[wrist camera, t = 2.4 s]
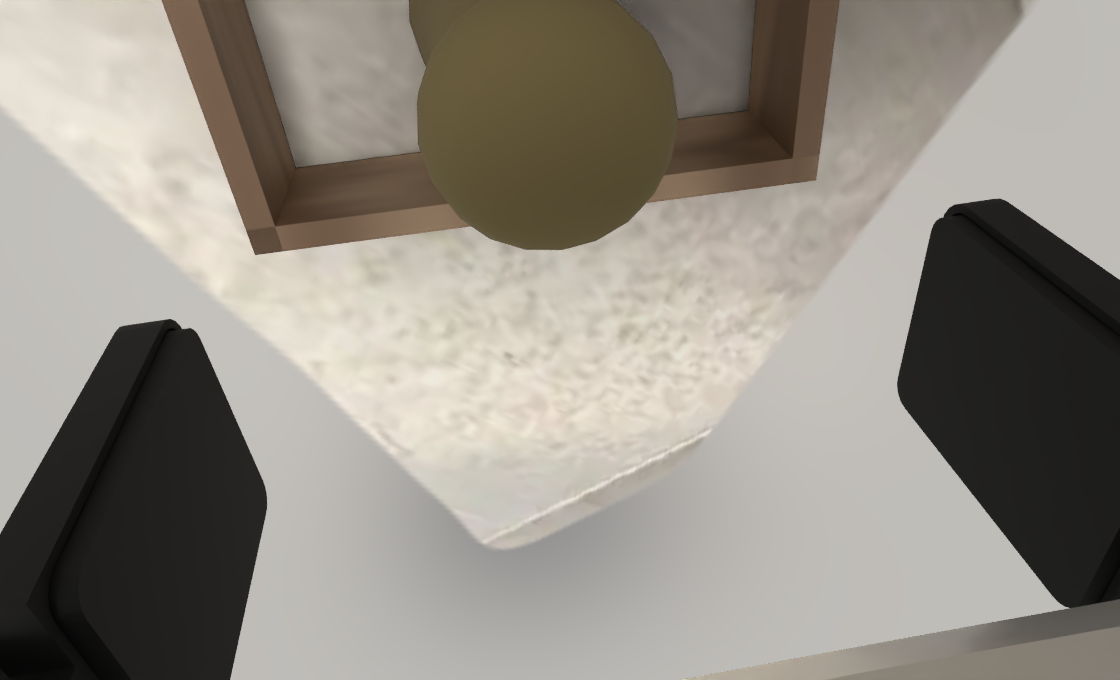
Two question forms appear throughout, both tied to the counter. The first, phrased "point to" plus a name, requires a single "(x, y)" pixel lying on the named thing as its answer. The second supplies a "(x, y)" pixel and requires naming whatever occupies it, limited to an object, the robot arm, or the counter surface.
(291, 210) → the wooden u-shaped frame
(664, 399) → the counter surface
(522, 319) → the counter surface
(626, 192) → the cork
